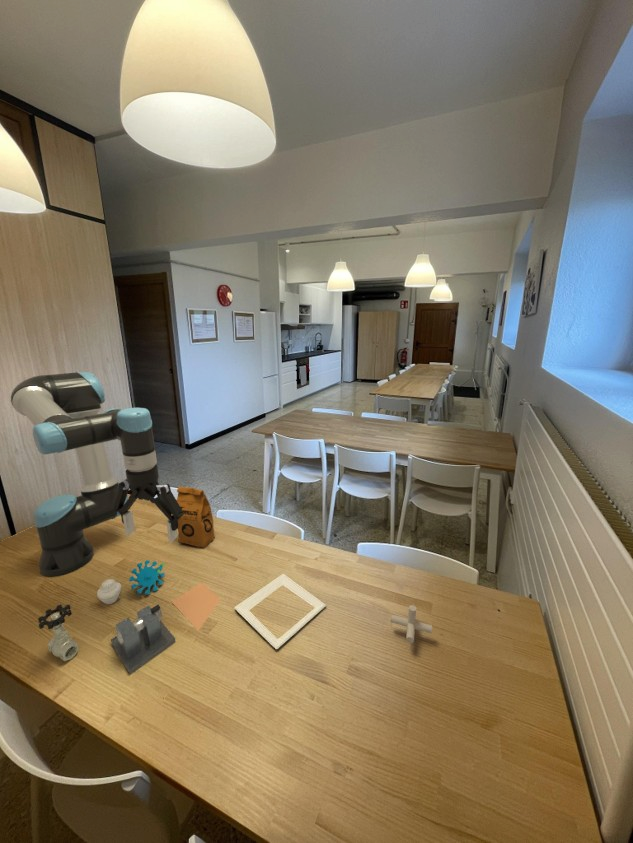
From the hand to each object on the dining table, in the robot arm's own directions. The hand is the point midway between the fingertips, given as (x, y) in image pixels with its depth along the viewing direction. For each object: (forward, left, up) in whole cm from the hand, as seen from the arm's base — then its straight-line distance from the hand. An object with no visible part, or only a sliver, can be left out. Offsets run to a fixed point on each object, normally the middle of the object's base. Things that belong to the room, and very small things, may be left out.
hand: (151, 536), depth 93 cm
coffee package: (-18, +22, -22) cm, 36 cm away
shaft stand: (+11, -10, -22) cm, 26 cm away
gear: (-5, 0, -23) cm, 23 cm away
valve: (-1, -24, -22) cm, 32 cm away
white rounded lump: (-11, -10, -22) cm, 26 cm away
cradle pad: (+11, +6, -22) cm, 25 cm away
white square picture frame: (+30, +20, -22) cm, 43 cm away
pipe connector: (+62, +36, -22) cm, 75 cm away
